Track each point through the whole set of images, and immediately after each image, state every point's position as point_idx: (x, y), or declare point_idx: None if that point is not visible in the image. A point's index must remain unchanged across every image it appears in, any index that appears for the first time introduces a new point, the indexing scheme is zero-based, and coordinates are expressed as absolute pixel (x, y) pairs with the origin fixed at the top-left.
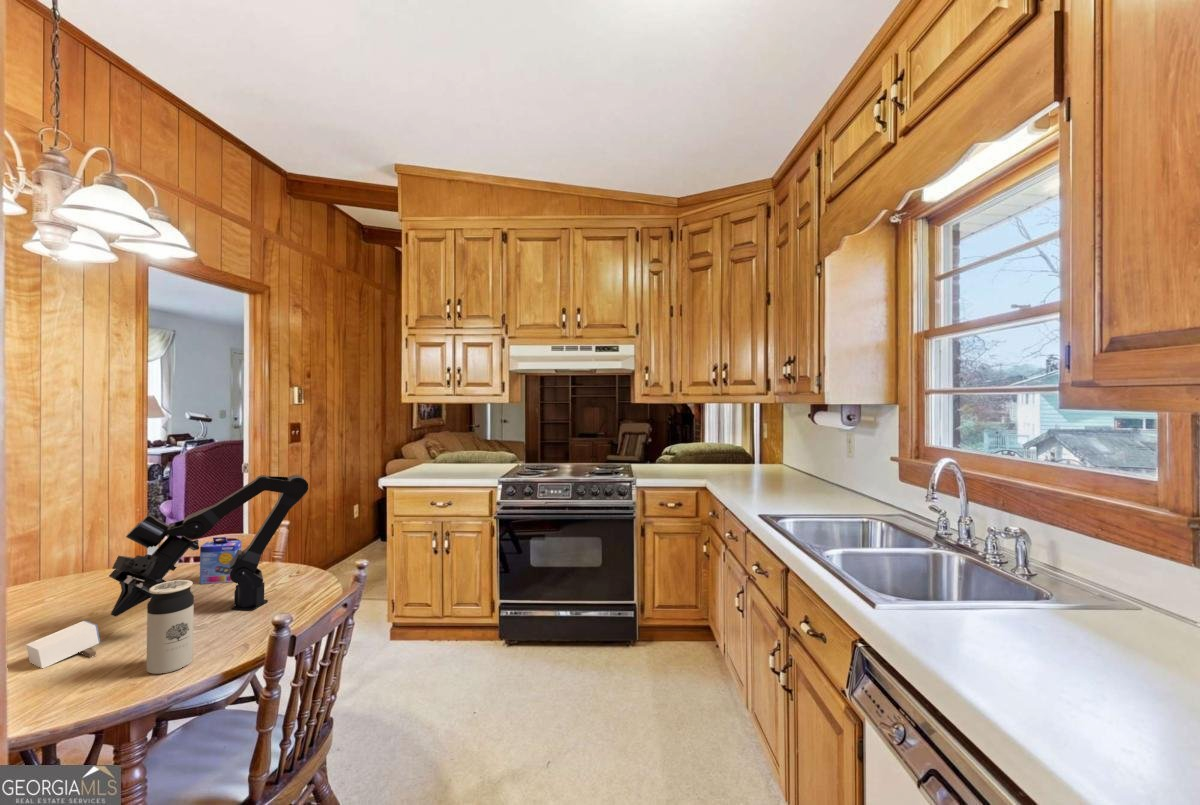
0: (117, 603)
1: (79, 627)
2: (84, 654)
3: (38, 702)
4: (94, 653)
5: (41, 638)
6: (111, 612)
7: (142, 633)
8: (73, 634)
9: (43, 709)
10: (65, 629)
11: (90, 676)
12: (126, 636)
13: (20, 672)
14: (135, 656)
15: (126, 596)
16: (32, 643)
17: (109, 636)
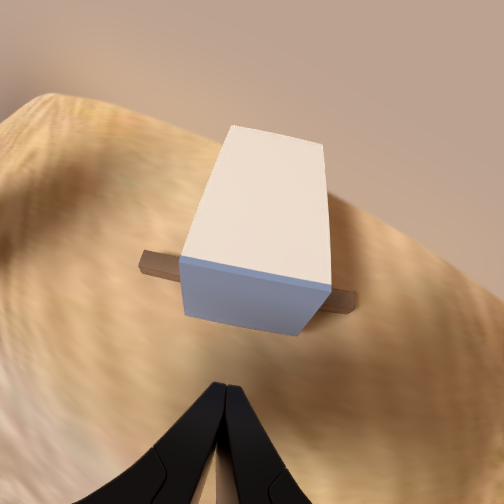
0: (245, 441)
1: (261, 232)
2: None
3: (83, 115)
4: (140, 263)
5: (320, 166)
6: (242, 391)
7: None
8: (211, 187)
9: (59, 112)
10: (313, 213)
11: (55, 188)
12: None
13: None
14: (19, 298)
15: (154, 492)
16: (308, 147)
17: (282, 417)
